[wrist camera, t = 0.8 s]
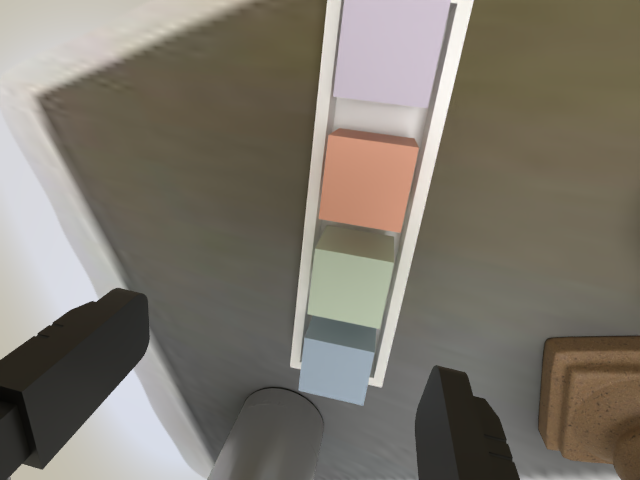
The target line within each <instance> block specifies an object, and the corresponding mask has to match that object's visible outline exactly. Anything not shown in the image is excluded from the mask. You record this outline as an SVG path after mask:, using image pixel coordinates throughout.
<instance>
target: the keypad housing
mask: <svg viewBox="0 0 640 480" xmlns="http://www.w3.org/2000/svg"><path fill="white" fill-rule="evenodd" d="M473 1H474V0H451V3H450V7H449V12H448V17H447V21H446V26H445V30H444V35H443V40H442V44H441V49H440V54H439V58H438V63H437V67H436V72H435V77H434V81H433V86H432V91H431V95H430V100H429V104H428V108H420V107H412V106H404V105H396V104H388V103H380V102H372V101H364V100H356V99H348V98H340V97H333V92H334V84H335V75H336V67H337V58H338V50H339V41H340V33H341V24H342V16H343V7H344V0H327V9H326V19H325V29H324V39H323V48H322V58H321V68H320V78H319V88H318V97H317V107H316V117H315V127H314V137H313V146H312V156H311V166H310V176H309V186H308V195H307V205H306V215H305V225H304V235H303V244H302V254H301V264H300V274H299V284H298V293H297V303H296V313H295V323H294V333H293V342H292V352H291V362H290V367H293V368H297V369H301V364H302V355H303V347H304V338H305V335H306V332H307V330H308V327H309V324H310V321H311V318H312V316H313V315H309V314H307V313H308V304H309V296H310V287H311V279H312V270H313V262H314V253H315V248H316V246H317V244H318V242H319V240H320V238H321V236H322V234H323V232H324V230H325V228H326V226H327V225H329V226H335V227H341V228H347V229H353V230H359V231H364V232H370V233H376V234H382V235H388V236H393V237H394V266H393V271H392V275H391V280H390V285H389V289H388V294H387V298H386V303H385V308H384V312H383V317H382V321H381V326H380V329H377V328H376V341H375V354H374V358H373V363H372V368H371V372H370V377H369V382H368V385H373V386H377V387H381V388H382V384H383V380H384V376H385V372H386V367H387V363H388V359H389V355H390V351H391V346H392V342H393V338H394V334H395V330H396V325H397V321H398V317H399V313H400V308H401V304H402V300H403V296H404V292H405V287H406V283H407V279H408V275H409V271H410V266H411V262H412V258H413V254H414V249H415V245H416V241H417V237H418V233H419V228H420V224H421V220H422V216H423V212H424V207H425V203H426V199H427V195H428V190H429V186H430V182H431V178H432V174H433V169H434V165H435V161H436V157H437V153H438V148H439V144H440V140H441V136H442V131H443V127H444V123H445V119H446V115H447V110H448V106H449V102H450V98H451V94H452V89H453V85H454V81H455V77H456V73H457V68H458V64H459V60H460V56H461V51H462V47H463V43H464V39H465V35H466V30H467V26H468V22H469V18H470V14H471V9H472V5H473ZM339 128H342V129H350V130H357V131H364V132H371V133H379V134H386V135H393V136H401V137H408V138H415V140H416V142H417V144H418V146H419V151H418V155H417V160H416V164H415V169H414V174H413V178H412V183H411V188H410V192H409V197H408V201H407V206H406V211H405V215H404V220H403V224H402V229H401V233H398V232H392V231H387V230H381V229H375V228H369V227H363V226H357V225H351V224H345V223H339V222H334V221H328V220H322V219H319V211H320V202H321V194H322V185H323V177H324V168H325V160H326V151H327V143H328V135H329V134H331V133H332V132H334V131H335V130H337V129H339Z"/></svg>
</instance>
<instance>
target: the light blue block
mask: <svg viewBox="0 0 640 480" xmlns="http://www.w3.org/2000/svg"><path fill="white" fill-rule="evenodd" d="M375 341H376V328H372V327H367V326H362V325H357V324H352V323H348V322H343V321H338V320H333V319H328V318H323V317H318V316H312V318H311V321H310V324H309V327H308V330H307V332H306V335H305V338H304V347H303V355H302V364H301V372H300V381H299V389H298V391H302V392H307V393H311V394H315V395H319V396H324V397H328V398H332V399H337V400H341V401H345V402H349V403H354V404H358V405H362V406H363V405H364V400H365V395H366V391H367V386H368V382H369V377H370V372H371V368H372V363H373V358H374V354H375Z"/></svg>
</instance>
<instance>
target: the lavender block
mask: <svg viewBox="0 0 640 480" xmlns="http://www.w3.org/2000/svg"><path fill="white" fill-rule="evenodd" d="M450 3H451V0H344V7H343V16H342V24H341V33H340V41H339V50H338V58H337V67H336V75H335V84H334V92H333V97H340V98H348V99H356V100H364V101H372V102H380V103H388V104H396V105H404V106H412V107H420V108H428V104H429V100H430V95H431V91H432V86H433V81H434V77H435V72H436V67H437V63H438V58H439V54H440V49H441V44H442V40H443V35H444V30H445V26H446V21H447V17H448V12H449V7H450Z"/></svg>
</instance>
